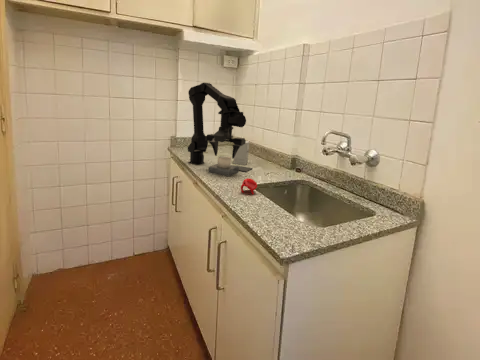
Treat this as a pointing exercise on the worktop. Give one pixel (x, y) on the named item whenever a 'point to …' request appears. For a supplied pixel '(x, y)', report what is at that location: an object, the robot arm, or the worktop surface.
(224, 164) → the end cover
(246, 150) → the supplement box
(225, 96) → the robot arm
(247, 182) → the red plastic curved piece
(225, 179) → the worktop surface
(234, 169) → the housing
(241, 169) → the rubber mat
